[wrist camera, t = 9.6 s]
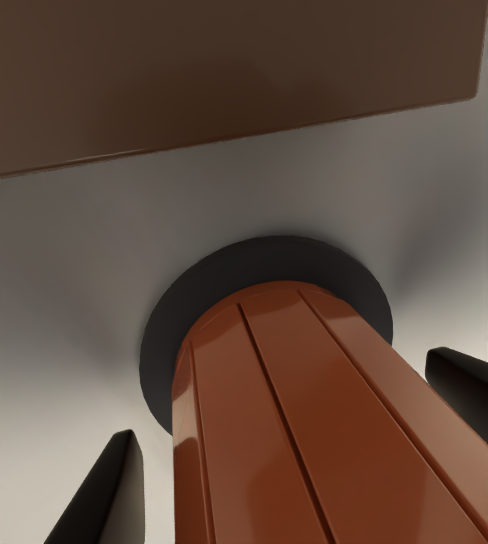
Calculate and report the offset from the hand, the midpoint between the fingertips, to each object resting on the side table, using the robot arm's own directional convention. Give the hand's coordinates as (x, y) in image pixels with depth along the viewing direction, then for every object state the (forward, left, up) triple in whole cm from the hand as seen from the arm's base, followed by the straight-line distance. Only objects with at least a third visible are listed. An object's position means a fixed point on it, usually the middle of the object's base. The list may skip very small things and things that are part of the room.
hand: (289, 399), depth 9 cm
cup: (0, 0, -1) cm, 1 cm away
